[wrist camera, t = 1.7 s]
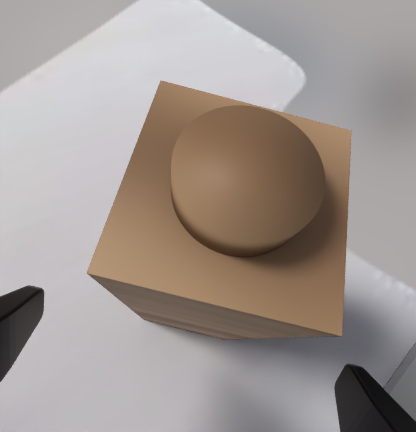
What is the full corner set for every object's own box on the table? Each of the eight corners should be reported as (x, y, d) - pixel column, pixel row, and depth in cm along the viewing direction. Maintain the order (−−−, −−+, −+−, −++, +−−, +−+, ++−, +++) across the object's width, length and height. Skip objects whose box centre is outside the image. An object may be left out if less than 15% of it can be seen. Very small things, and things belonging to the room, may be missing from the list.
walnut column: (223, 339, 19) (374, 335, 5) (143, 319, 19) (70, 260, 5) (238, 261, 21) (375, 102, 7) (166, 243, 21) (159, 45, 7)
